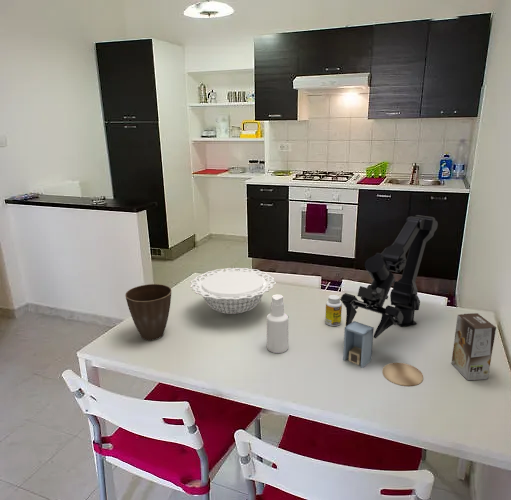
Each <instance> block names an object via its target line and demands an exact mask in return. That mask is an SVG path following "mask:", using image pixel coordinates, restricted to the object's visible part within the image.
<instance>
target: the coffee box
mask: <svg viewBox="0 0 511 500" xmlns="http://www.w3.org/2000/svg"><path fill="white" fill-rule="evenodd" d="M455 326H456V327H455V332H454V341H453V349H452V357H451V364H452V366H453V367H454V368H456V370H457V371H458V372H459V373H460V374H461V375H462V376H463V377H464V378H465V379H466V380H467V381H477V380H488V379H489V373H490V367H491V362H492V356H493V355H492V354H493V349H494V343H495V337H496V330H497V327H496V326H495V325H494V324H493V323H491V322H490V321H488V320H487V319H486V318H485V317H483V316H482V315H480V314H479V313H476V312H475V313H473V312H472V313H462V314H457V318H456V325H455Z"/></svg>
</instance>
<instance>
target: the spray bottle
mask: <svg viewBox="0 0 511 500" xmlns="http://www.w3.org/2000/svg"><path fill="white" fill-rule="evenodd" d="M270 304H271V306H270V307H271V308H270V313H268V314H267V315H266V348H267V350H268V351H269V352H270V353H274V354H282V353H286V351H288V349H289V316H288V314H287V313H285V303H284V296H283V295H282V294H280V293H279V294H273V295H272V296H271V303H270Z"/></svg>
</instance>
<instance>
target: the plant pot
mask: <svg viewBox="0 0 511 500" xmlns="http://www.w3.org/2000/svg"><path fill="white" fill-rule="evenodd" d="M124 296H125V299H126V303H127V307H128V311H129V313H130V316H131V319H132V321H133V324H134V326H135V327H136V329H137V332H138V333H139V336H140V337H141V338H142V339H143V340H145V341H155V340H159V339H161V338H162V337H163V336H164V334H165V331H166V327H167V323H168V319H169V314H170V309H171V302H172V301H171V300H172V288H171V287H170V286H168V285H165V284H159V283H149V284H142V285H138V286H134V287H133V288H130V289H128V291H126V293H125V295H124Z"/></svg>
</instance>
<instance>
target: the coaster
mask: <svg viewBox="0 0 511 500" xmlns="http://www.w3.org/2000/svg"><path fill="white" fill-rule="evenodd" d="M381 370H382V375H383V377H384V378H385V379H386V380H387V381H389V382H390V383H392V384H394V385H398V386H404V387H415V386H418V385H420V384H421V383H422V382H423V381H424V374H423V373H422V371H421V370H419V368H417V367H416V366H414V365H411V364H408V363H404V362H391V363H388V364H385V365H384V366H383V367H382V369H381Z"/></svg>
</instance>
